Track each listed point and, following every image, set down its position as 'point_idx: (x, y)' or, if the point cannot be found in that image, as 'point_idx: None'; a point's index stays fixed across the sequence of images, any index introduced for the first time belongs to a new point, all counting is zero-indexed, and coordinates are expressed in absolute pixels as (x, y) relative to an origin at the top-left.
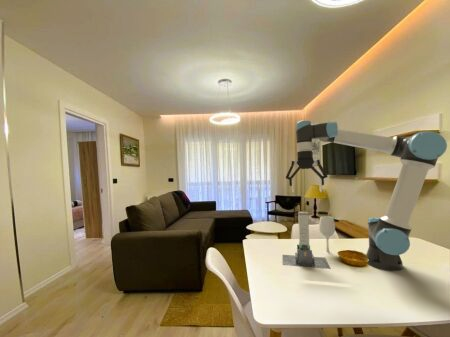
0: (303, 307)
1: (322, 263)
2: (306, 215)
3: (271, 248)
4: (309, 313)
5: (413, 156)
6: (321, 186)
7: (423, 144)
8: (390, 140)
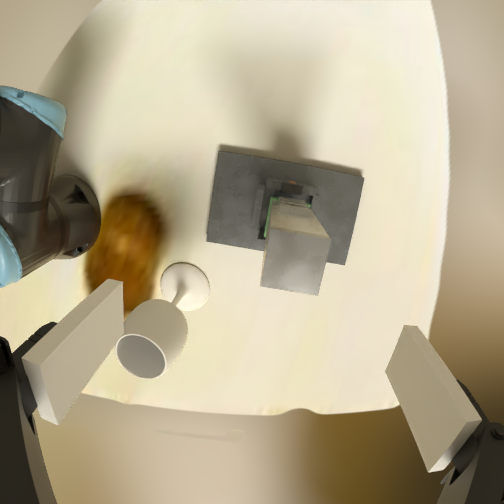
0: None
1: (231, 191)
2: (282, 227)
3: (359, 334)
4: None
5: None
6: (81, 307)
7: None
8: None
